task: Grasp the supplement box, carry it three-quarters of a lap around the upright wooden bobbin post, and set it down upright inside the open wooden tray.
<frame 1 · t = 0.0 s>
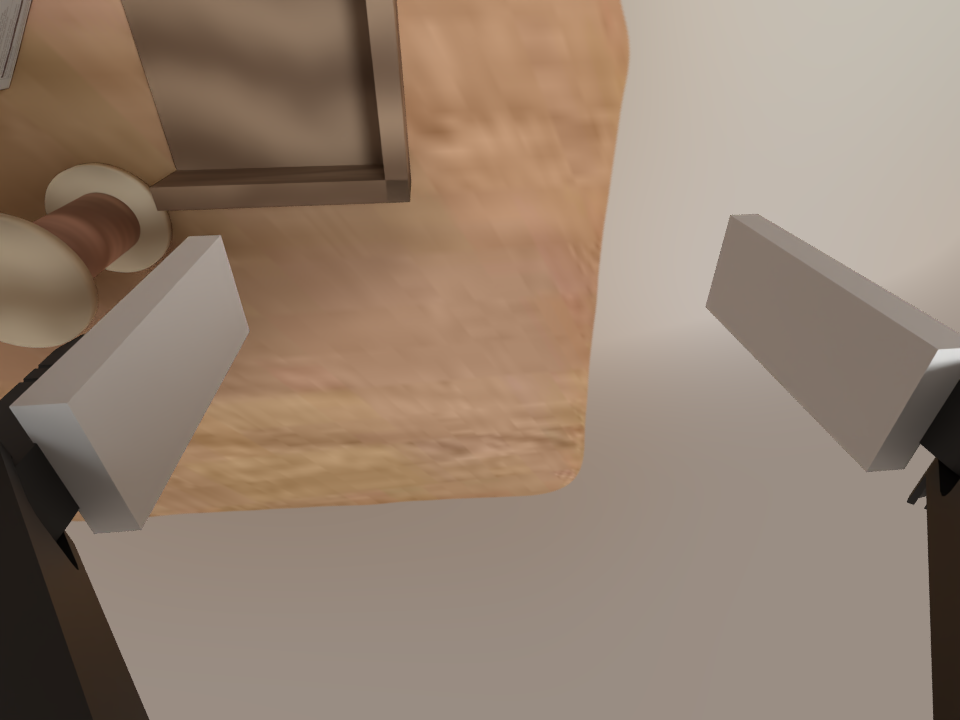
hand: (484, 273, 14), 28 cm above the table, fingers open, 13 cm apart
bobbin post: (114, 218, 39), on the table
open wooden tray: (265, 62, 34), on the table
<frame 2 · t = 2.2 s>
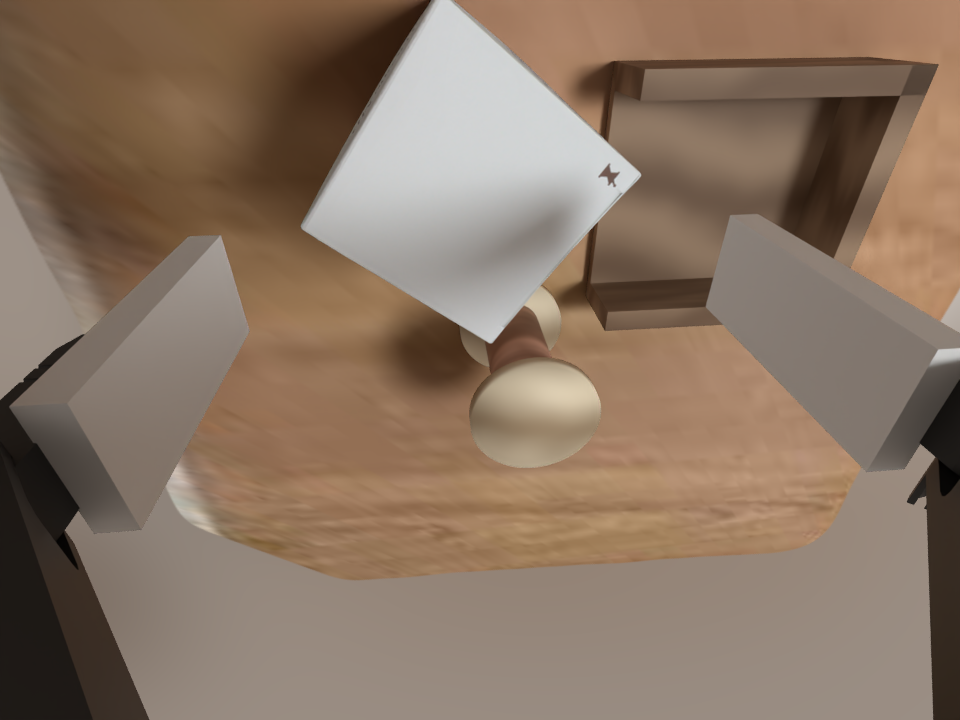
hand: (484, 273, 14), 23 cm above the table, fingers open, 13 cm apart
bobbin post: (509, 322, 41), on the table
supplement box: (452, 117, 32), on the table
open wooden tray: (701, 189, 36), on the table
when the fingers open (6 cm above the table, at t = 14.8 s): supplement box drops 2 cm, resting on open wooden tray.
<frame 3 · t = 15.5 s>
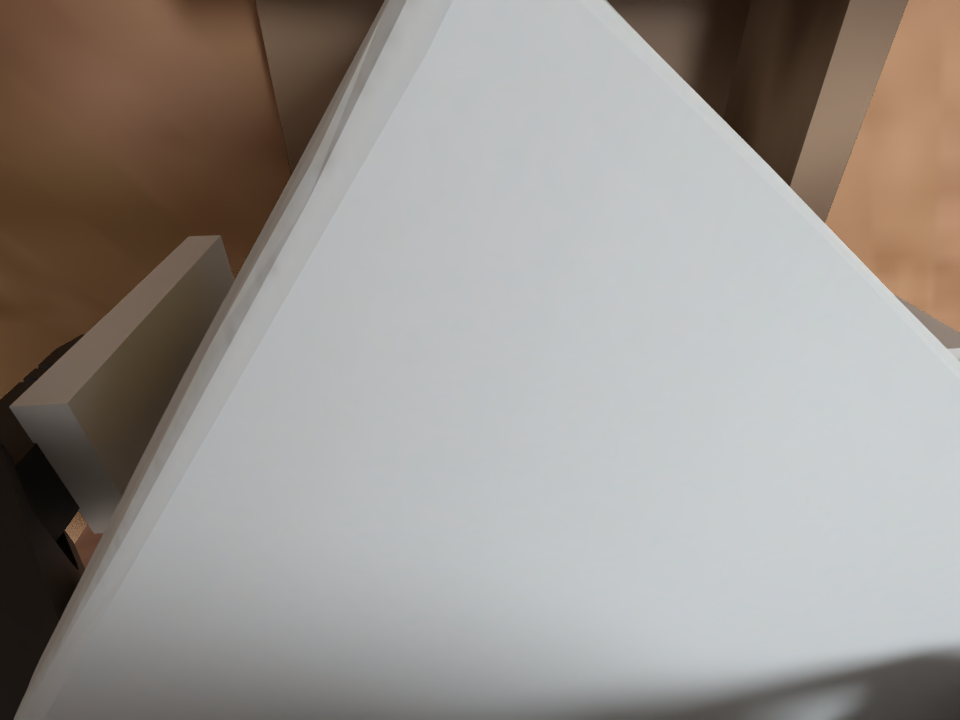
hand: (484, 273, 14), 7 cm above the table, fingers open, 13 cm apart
bobbin post: (215, 424, 24), on the table
supplement box: (463, 205, 19), point 1 cm above the table, touching gripper, open wooden tray
open wooden tray: (505, 199, 19), on the table
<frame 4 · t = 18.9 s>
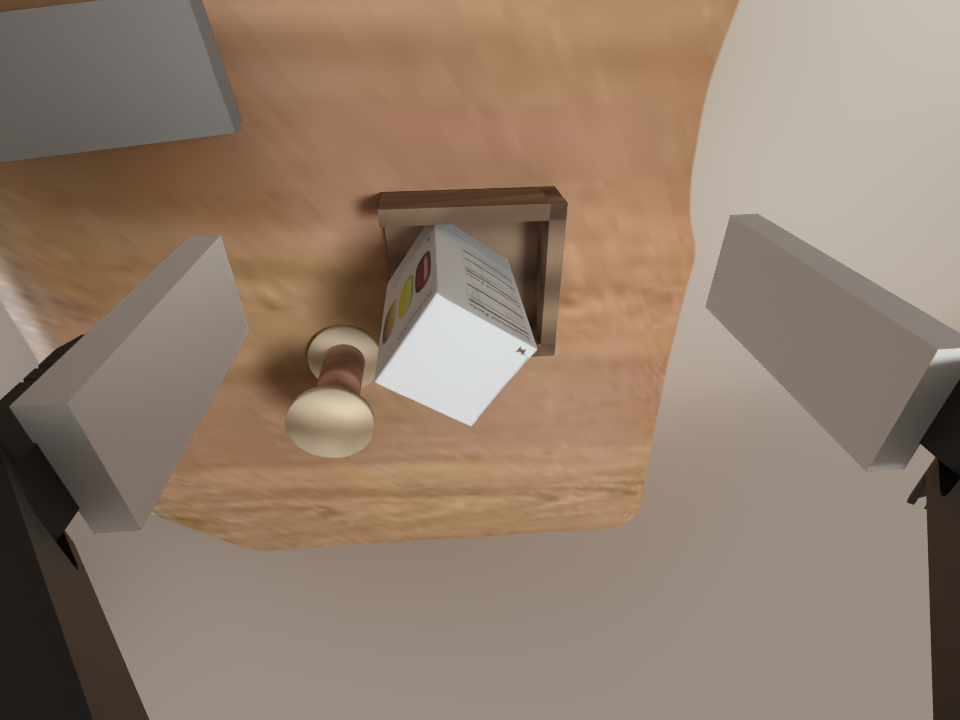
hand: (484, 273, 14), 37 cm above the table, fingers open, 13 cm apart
bobbin post: (345, 355, 58), on the table
supplement box: (447, 271, 52), point 1 cm above the table, touching open wooden tray
open wooden tray: (463, 267, 53), on the table
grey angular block: (102, 74, 41), on the table
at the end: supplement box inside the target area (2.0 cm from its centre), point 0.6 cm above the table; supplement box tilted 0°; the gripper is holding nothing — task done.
